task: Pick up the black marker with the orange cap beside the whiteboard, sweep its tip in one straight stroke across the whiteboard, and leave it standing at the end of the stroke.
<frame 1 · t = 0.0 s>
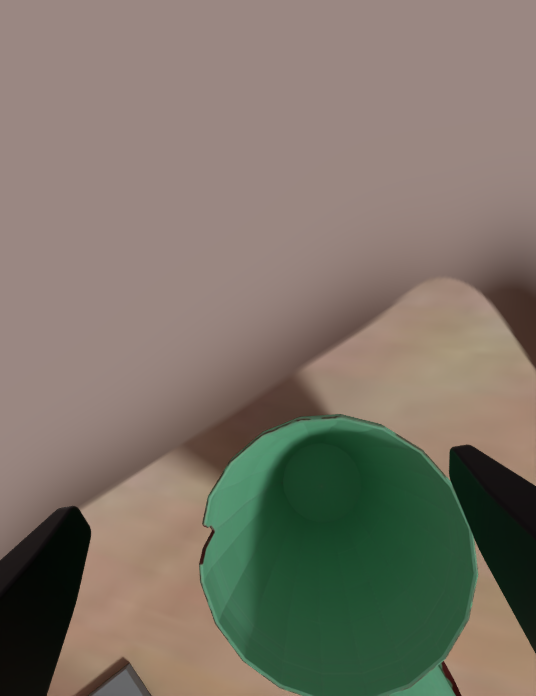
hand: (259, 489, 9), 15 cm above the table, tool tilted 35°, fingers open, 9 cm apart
mug: (342, 515, 23), on the table
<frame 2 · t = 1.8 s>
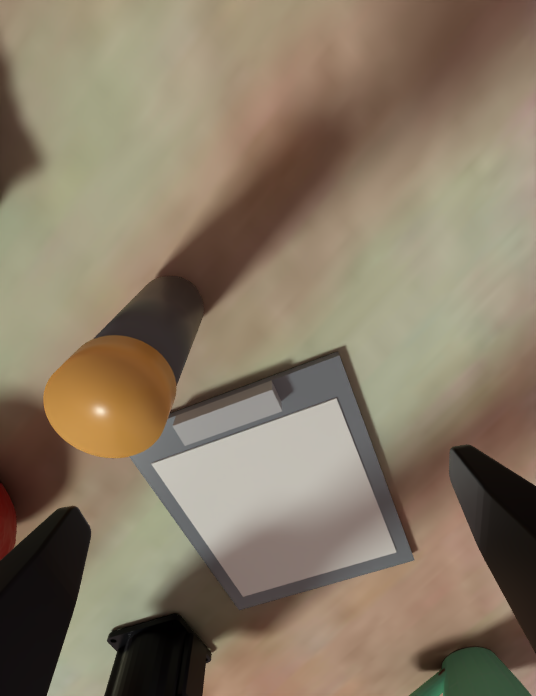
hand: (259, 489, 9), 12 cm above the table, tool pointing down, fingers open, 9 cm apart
whiteboard: (280, 499, 26), on the table
mug: (440, 664, 35), on the table
marker: (174, 302, 20), on the table
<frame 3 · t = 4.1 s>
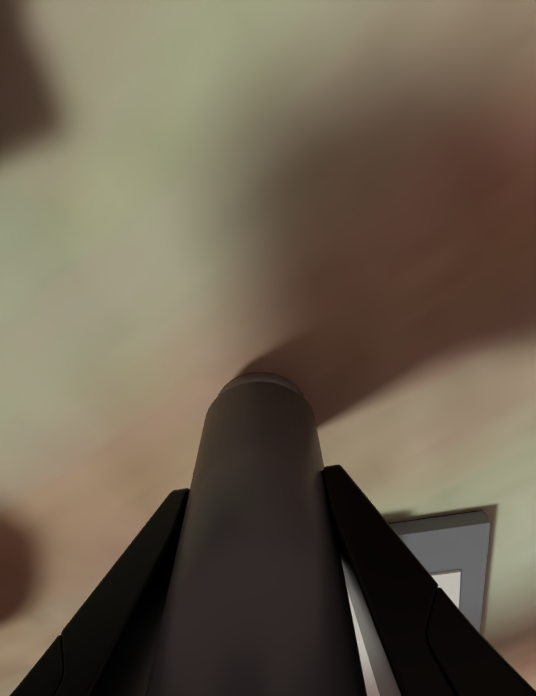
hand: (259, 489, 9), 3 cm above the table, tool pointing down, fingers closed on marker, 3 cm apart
whiteboard: (324, 656, 19), on the table
marker: (260, 411, 12), on the table, touching gripper
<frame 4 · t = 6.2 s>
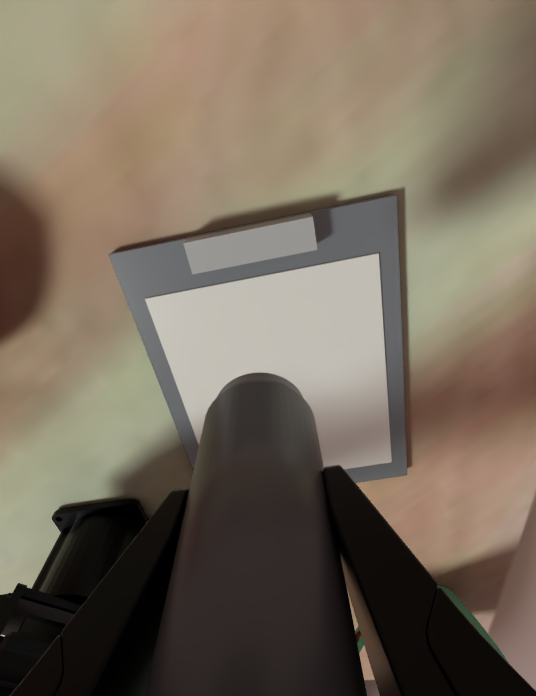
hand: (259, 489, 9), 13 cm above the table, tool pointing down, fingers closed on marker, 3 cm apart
whiteboard: (281, 377, 23), on the table
mug: (398, 599, 34), on the table
marker: (260, 411, 12), point 10 cm above the table, touching gripper
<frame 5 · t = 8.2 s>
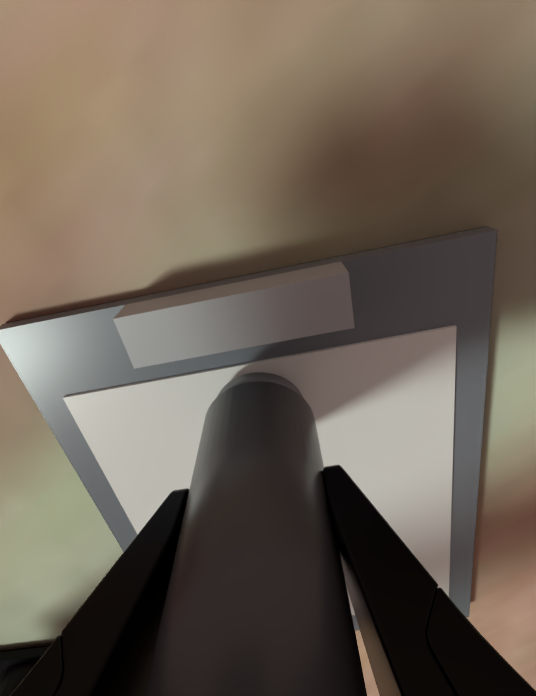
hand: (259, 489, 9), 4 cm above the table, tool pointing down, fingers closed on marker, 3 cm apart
whiteboard: (287, 497, 15), on the table
marker: (260, 411, 12), point 1 cm above the table, touching gripper
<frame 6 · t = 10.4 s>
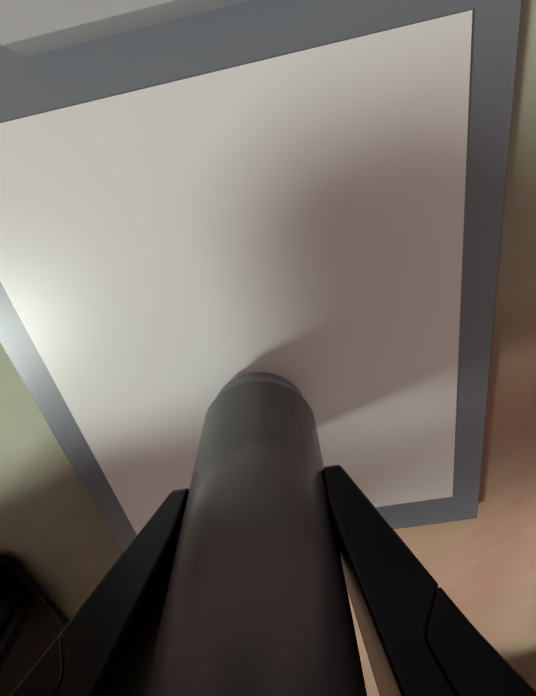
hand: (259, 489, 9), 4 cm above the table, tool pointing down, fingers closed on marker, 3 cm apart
whiteboard: (248, 337, 12), on the table
marker: (260, 411, 12), point 1 cm above the table, touching gripper
when the fingers open (4 cm above the table, at t = 12.5 s): marker stays where it is, resting on whiteboard.
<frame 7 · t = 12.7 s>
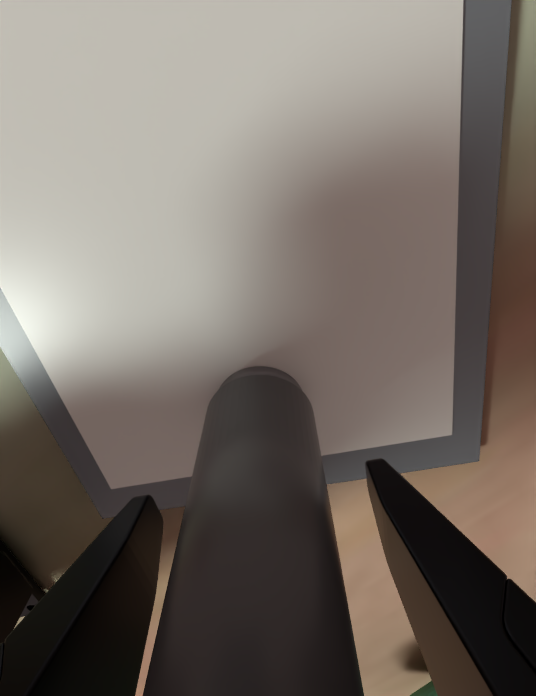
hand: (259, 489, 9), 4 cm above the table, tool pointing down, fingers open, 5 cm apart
whiteboard: (221, 244, 10), on the table
marker: (260, 404, 12), point 1 cm above the table, touching whiteboard
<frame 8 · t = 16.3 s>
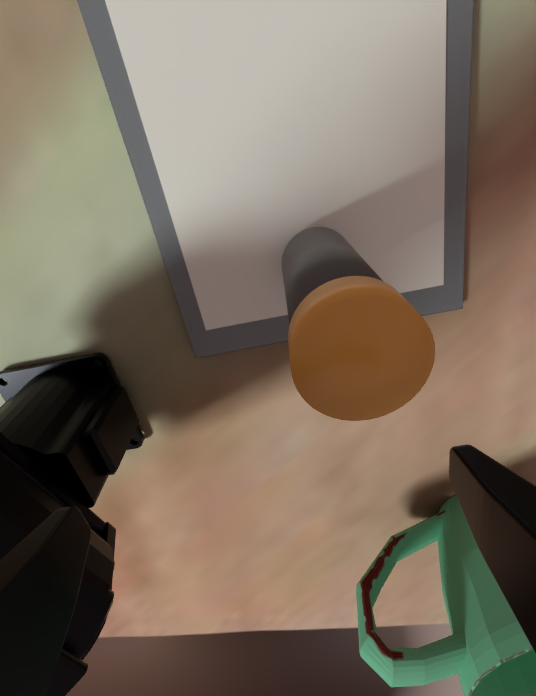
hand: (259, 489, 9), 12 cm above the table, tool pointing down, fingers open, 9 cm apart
whiteboard: (296, 141, 16), on the table
mug: (436, 512, 27), on the table
marker: (314, 258, 18), point 1 cm above the table, touching whiteboard
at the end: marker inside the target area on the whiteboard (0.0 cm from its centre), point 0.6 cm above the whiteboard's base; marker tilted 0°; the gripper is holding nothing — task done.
